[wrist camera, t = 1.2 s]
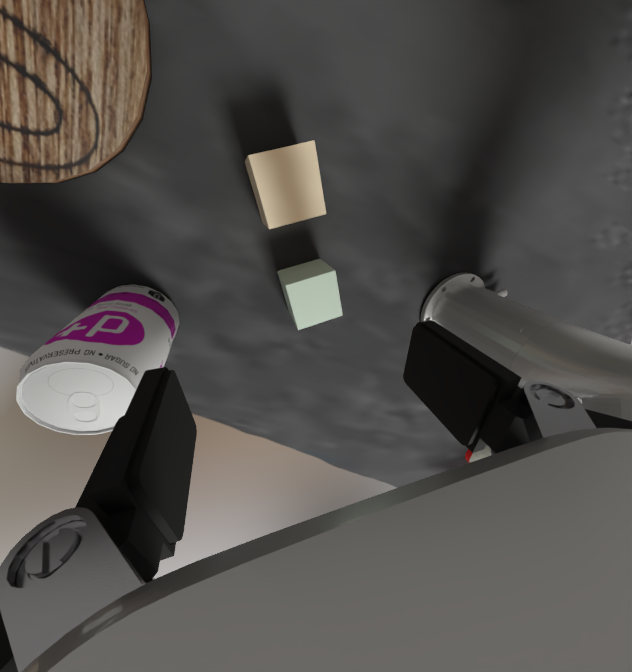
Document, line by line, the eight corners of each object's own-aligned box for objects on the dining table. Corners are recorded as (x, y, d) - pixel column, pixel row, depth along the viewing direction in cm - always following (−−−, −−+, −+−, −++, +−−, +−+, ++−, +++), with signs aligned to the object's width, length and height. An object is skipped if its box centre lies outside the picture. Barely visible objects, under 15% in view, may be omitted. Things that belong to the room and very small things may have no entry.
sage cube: (319, 258, 33) (335, 270, 29) (327, 298, 37) (342, 315, 32) (276, 271, 33) (285, 285, 28) (288, 310, 36) (298, 330, 31)
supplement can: (97, 275, 27) (-12, 348, 15) (182, 290, 30) (150, 360, 18) (102, 339, 30) (15, 442, 18) (178, 346, 34) (148, 438, 21)
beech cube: (298, 149, 27) (314, 140, 22) (310, 209, 30) (326, 213, 25) (244, 161, 26) (248, 155, 21) (262, 222, 29) (269, 229, 24)
